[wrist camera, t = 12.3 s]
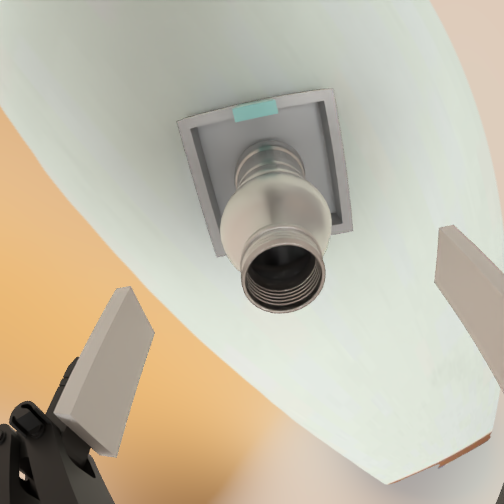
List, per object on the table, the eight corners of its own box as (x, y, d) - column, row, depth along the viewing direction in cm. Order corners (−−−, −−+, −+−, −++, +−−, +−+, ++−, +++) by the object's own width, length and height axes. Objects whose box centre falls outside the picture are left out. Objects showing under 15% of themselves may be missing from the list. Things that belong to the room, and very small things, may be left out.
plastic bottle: (314, 162, 31) (389, 262, 13) (273, 212, 33) (291, 355, 16) (262, 123, 29) (271, 170, 11) (222, 177, 32) (179, 294, 14)
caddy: (185, 117, 30) (157, 129, 21) (323, 88, 28) (352, 88, 19) (220, 239, 36) (209, 291, 27) (343, 215, 35) (371, 260, 26)
